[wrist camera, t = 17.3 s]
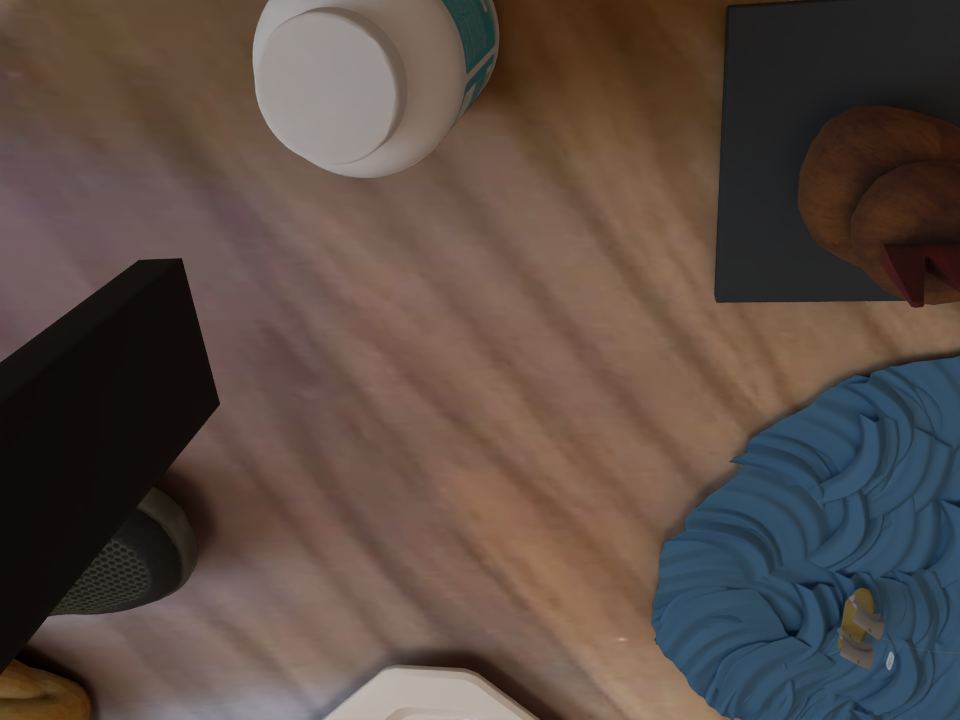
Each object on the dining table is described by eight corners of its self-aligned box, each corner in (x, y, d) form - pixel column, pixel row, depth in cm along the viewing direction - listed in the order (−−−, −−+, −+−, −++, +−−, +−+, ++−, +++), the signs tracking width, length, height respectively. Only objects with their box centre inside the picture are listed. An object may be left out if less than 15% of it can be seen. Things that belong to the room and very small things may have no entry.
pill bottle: (335, -64, 38) (198, -50, 26) (506, -55, 37) (445, -37, 25) (341, 113, 42) (223, 197, 30) (498, 125, 41) (441, 215, 29)
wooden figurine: (764, 206, 39) (829, 356, 26) (815, 75, 37) (916, 169, 23) (914, 245, 39) (1056, 417, 26) (977, 116, 36) (1171, 235, 23)
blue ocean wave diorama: (608, 381, 47) (603, 429, 42) (1281, 294, 39) (1365, 340, 35) (686, 786, 58) (689, 859, 53) (1224, 778, 50) (1282, 862, 46)
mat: (726, 5, 37) (728, 7, 36) (1042, -16, 35) (1052, -14, 34) (714, 294, 43) (715, 303, 42) (984, 292, 41) (992, 300, 40)
